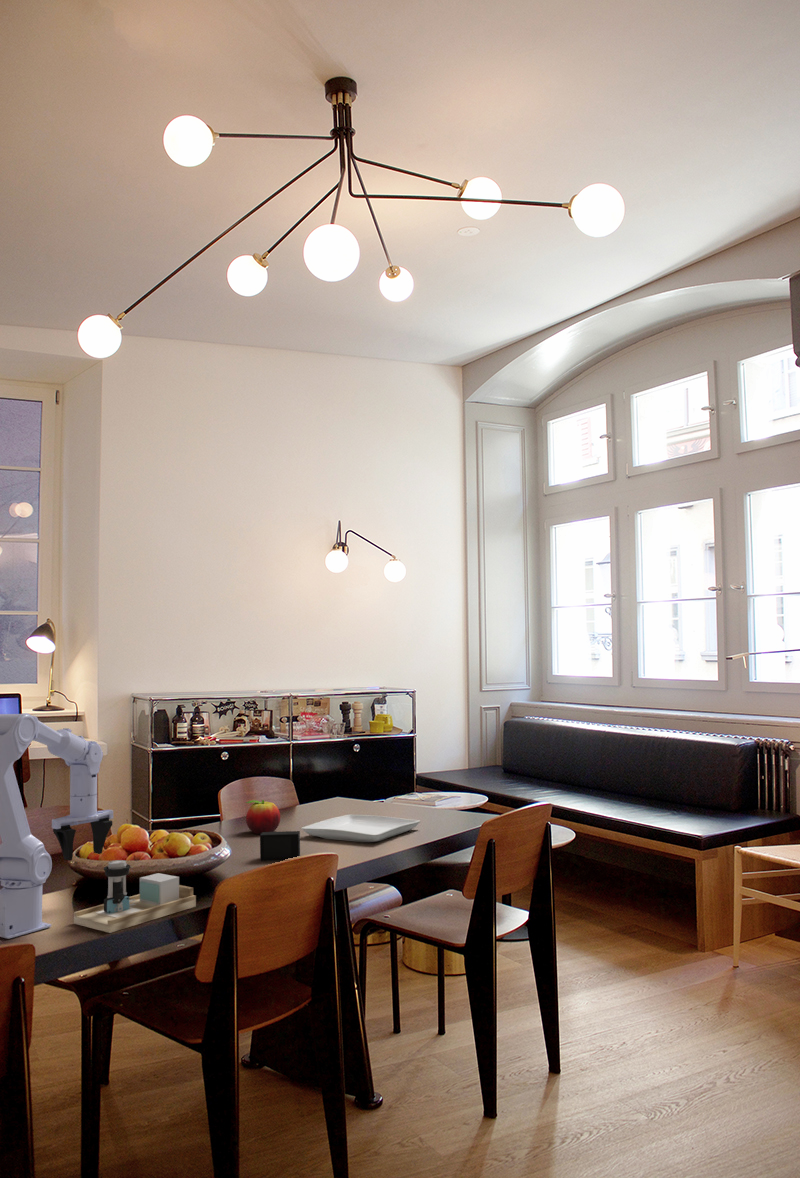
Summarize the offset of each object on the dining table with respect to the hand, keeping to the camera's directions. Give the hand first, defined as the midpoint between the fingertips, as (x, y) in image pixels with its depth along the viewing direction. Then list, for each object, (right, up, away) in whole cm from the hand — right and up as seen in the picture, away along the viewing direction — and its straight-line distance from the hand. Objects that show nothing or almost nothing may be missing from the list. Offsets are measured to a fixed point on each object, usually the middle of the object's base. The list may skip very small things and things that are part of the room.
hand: (83, 856), depth 197 cm
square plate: (+59, -16, +72) cm, 95 cm away
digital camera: (+39, -13, +41) cm, 58 cm away
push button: (+12, -8, -12) cm, 19 cm away
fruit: (+28, -17, +79) cm, 85 cm away
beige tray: (+15, -9, -10) cm, 20 cm away
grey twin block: (+18, -8, -5) cm, 21 cm away
